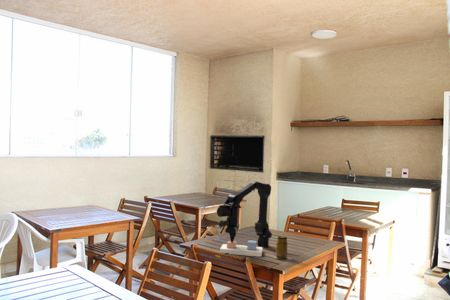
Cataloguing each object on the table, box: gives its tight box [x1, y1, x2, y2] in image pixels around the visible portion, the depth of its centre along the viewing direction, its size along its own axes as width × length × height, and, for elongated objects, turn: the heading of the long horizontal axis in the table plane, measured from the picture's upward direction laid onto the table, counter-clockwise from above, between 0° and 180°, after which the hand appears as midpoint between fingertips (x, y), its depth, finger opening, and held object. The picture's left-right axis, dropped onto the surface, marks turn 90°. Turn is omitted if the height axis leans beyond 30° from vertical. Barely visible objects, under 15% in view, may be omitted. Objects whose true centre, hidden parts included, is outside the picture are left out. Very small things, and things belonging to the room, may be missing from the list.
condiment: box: [272, 235, 293, 261], centre depth 221 cm, size 7×8×12 cm
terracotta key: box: [226, 240, 238, 249], centre depth 230 cm, size 5×5×4 cm
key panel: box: [219, 243, 264, 257], centre depth 229 cm, size 24×12×2 cm, turn 81°
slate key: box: [246, 239, 258, 250], centre depth 228 cm, size 5×5×4 cm
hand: (231, 242), depth 230 cm, fingers closed, pressing on terracotta key
